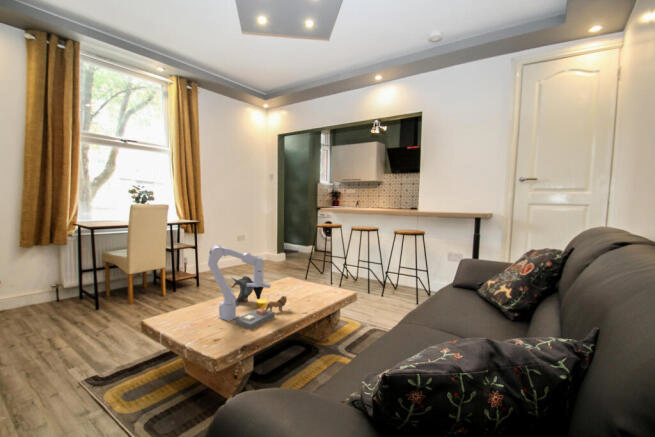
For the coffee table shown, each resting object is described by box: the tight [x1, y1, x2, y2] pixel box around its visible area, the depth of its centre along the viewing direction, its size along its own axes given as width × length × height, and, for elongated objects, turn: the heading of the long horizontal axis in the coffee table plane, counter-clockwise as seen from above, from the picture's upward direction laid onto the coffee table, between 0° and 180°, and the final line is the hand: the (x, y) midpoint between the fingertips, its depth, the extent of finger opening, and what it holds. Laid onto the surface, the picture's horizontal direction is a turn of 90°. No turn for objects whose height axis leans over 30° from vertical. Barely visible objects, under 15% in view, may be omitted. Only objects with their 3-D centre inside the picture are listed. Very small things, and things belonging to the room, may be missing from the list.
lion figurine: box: [265, 295, 288, 313], centre depth 191 cm, size 15×5×9 cm, turn 122°
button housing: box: [234, 308, 275, 330], centre depth 177 cm, size 12×20×3 cm, turn 150°
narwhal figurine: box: [231, 275, 254, 307], centre depth 205 cm, size 14×15×18 cm
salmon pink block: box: [255, 308, 266, 315], centre depth 181 cm, size 4×4×4 cm
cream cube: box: [244, 315, 254, 321], centre depth 172 cm, size 4×4×4 cm
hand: (258, 298), depth 187 cm, fingers closed
